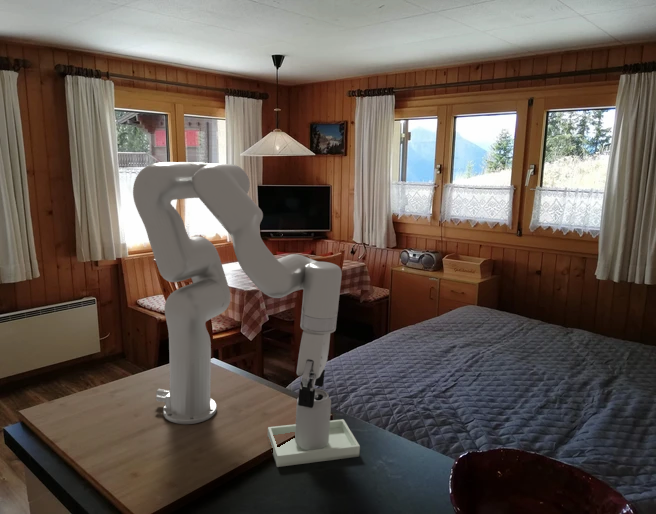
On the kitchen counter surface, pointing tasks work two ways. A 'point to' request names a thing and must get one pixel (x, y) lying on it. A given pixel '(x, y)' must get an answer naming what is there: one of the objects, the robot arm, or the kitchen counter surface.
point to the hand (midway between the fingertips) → (311, 395)
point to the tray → (337, 448)
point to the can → (313, 422)
